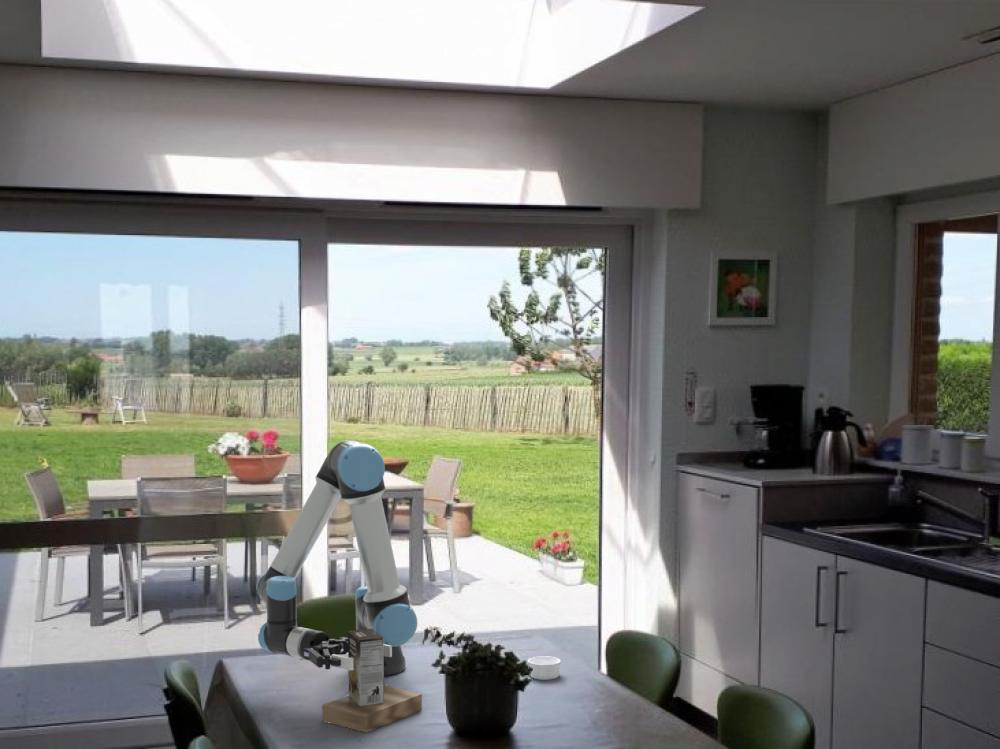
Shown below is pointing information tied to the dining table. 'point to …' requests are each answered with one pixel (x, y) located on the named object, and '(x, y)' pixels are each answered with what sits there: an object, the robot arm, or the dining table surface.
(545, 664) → the ramekin
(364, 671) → the coffee box
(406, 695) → the riser
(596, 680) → the dining table surface
